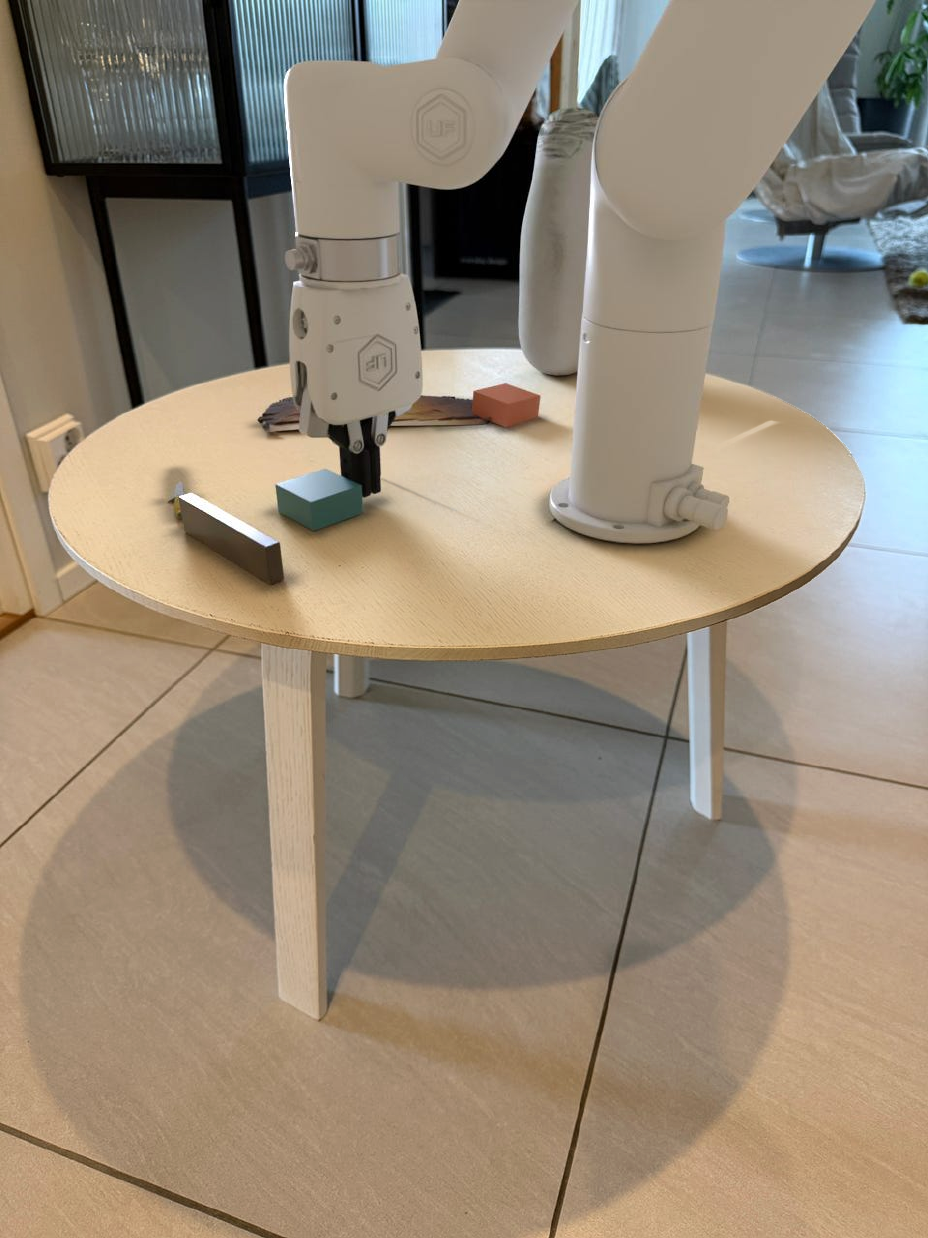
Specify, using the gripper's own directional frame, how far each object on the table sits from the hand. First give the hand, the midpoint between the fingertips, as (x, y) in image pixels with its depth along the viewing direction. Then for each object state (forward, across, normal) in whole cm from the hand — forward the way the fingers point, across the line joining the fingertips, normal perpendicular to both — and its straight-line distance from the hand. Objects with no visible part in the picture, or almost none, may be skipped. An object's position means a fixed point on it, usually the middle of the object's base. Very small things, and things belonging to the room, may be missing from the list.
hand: (361, 489), depth 74 cm
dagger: (+1, -11, +12) cm, 16 cm away
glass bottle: (+1, +41, +13) cm, 43 cm away
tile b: (0, +24, +6) cm, 25 cm away
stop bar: (+1, -14, -1) cm, 14 cm away
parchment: (+1, +15, +16) cm, 22 cm away
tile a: (+1, -4, 0) cm, 4 cm away
